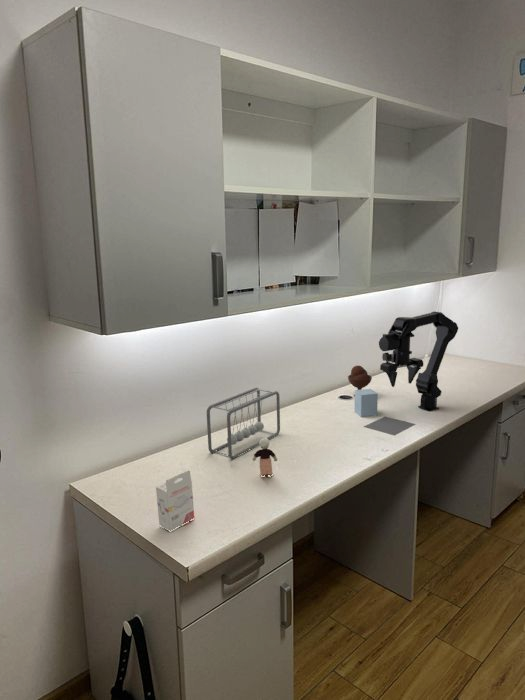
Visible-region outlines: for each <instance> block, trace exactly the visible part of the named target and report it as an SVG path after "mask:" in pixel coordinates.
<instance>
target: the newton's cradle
mask: <svg viewBox="0 0 525 700" xmlns="http://www.w3.org/2000/svg"><path fill="white" fill-rule="evenodd" d="M261 391H262V392H266V393H264V394H261ZM255 393H256V397H254V395H255ZM249 395H252V396H249ZM274 395H275V396H276V426H277V427H276V432H270V431H266V430H264V427H265V426H264V423H263V422H262V420H261V417H262V416H261V413H262V410H261V407H262V405H263V401H264V400H265V399H268V398H271V397H273V396H274ZM243 397H245V398H246V399H243ZM247 397H249V398H251V397H253V398H252V399H250V400H249V399H247ZM241 399H243V400H244V401H246V402H243V403H240V402H241ZM237 400H239V401H237ZM236 401H237V403H239V404H238V405H234V404H232V405H231V406H233V407H231V408H227V405H228V406H230V404H229V403H236ZM256 404H257V409H256V408H254V411H253V414H256V420H257V421H255V420H254V418H255V416H253V418H252V421H255V423H253V424H250V425H248V424H246V427H245V424H243V427H244V428H242V429H240V430H239V428H238V426H236V427H237V431H236V432H235V433H232V432H234V429H235V426H233V427H232V428H233V429H231V423H232V422H231V416H232V414H233V413H234V419H233V420H234V421H233V424H235V422H236V424H238V422H237V420H236V419H237V418H236V417H237V416H236V413H237V412H239V411H241V413H243V409H245V408H247V409H248V410H247V413H250V410H249V409H250V408H248V407H250V406H252V405H254V407H256ZM224 405H226V406H225V408H222V407H221V406H224ZM280 405H281V403H280V393H279V391H277V390H274V391H270V390H267V389H266V390H265V389H261V388H260V389H259V387H253V388H250V389H248V390H244V391H243V392H241V393H238V394H236V395H233V396H230V397H228V398H226V399H223V400H220V401H218V402H215V403H213V404H210V405H209V406H207V409H206V421H207V422H206V426H207V427H206V428H207V445H208V446H207V448H208V451H209V452H210V453H211V454H213V453H212V452H214V453H217V454H220V453H221V454H220V455H223V454H224V455H223V456H227V455H228V456H227V457H229V458H230V460H233V459H232V458H234V459H236V458H238V457H239V456H238V455H240V454H242V453H244V452H246V451H247V452H249V451H250V450H249V449H251V450H253V449H254V447H255V446H257V445H258V446H259V442H260V440H259V441H257V442H256V443H253V444H252V445H250V446H248V447H246V448H244V449H243V450H240V451H238V452H237V453H236V454H232V453H233V449H232V447H233V445H236V444H237V443H238V442H239V443H240V442H243V440H244V439H248V438H250V436H254V435H256V434H257V432H264V433H267V434H271V435H269V436H267V437H266V438H267V439H268V440H269V439H270V440H271V439H273V438H275V437H277V436H278V435H279V434H280V431H281V417H280V416H281V412H280V411H281V410H280V409H281V406H280ZM211 409H217V410H223V411H225V412H226V426H227V427H226V428H227V438H226V441H227V442H226V443H223V444H221V445H220V446H218V447H215V448H213V447H212V429H211ZM256 412H257V413H256ZM240 417H241V418H240V419H242V420H243V423H245V421H244V419H243V418H244V416H243V414H241V415H240ZM248 418H251V414H248V416H247V419H246V421H249V422H250V423H251V422H252V421H251V419H249V420H248ZM241 425H242V422H240V424H239V427H241ZM276 435H277V436H276ZM274 436H275V437H274ZM270 440H269V441H270ZM227 445H228V446H227ZM225 446H226V447H228V448H227V450H228V451H227V453H228V454H227V453H223V452H221V451H220V450H222V449H224V448H226V447H225ZM258 446H257V447H258ZM223 447H224V448H223ZM212 448H213V449H212ZM221 448H222V449H221ZM252 448H253V449H252ZM255 448H256V447H255ZM219 449H220V450H219ZM216 450H218V451H216ZM248 450H249V451H248ZM247 452H246V453H247ZM244 454H245V453H244ZM242 455H243V454H242ZM237 456H238V457H237ZM240 456H241V455H240ZM235 457H236V458H235Z"/></svg>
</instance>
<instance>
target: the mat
mask: <svg viewBox="0 0 525 700" xmlns="http://www.w3.org/2000/svg"><path fill="white" fill-rule="evenodd" d="M415 425H416V423H412V422H409V421H406V420H401V419H397V418H394V417H390V416H383V417H381V418H378V419H376V420H375V421H372V422H370V423H368V424H366V425H363V428H365V429H370V430H374V431H377V432H381V433H385V434H388V435H391V436H396V435H398V434H400V433H402V432H404V431H406V430H408V429H410V428H411V427H413V426H415Z"/></svg>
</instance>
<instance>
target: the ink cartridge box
mask: <svg viewBox="0 0 525 700" xmlns="http://www.w3.org/2000/svg"><path fill="white" fill-rule="evenodd" d="M191 475H192V474H191V470H189V469H188V470H186V471H184V472H182V473H180V474H177V475H175V476H173V477H171V478H169V479H166V481H165V482H164V483H162V484H160V485H157V486H155V490H156V491H155V492H156V502H157V503H156V504H157V513H158V514H157V515H158V525H161V526H162V527H164V528H166V529H168V530H170V531H171V530H173V529H175V528H176V527H178V526H181V525H182V524H184V523H186V522H188V521H190V520H191V519H193V518H194V519H195V511H194V510H195V508H194V496H193V494H194V492H193V481H192V476H191Z"/></svg>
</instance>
